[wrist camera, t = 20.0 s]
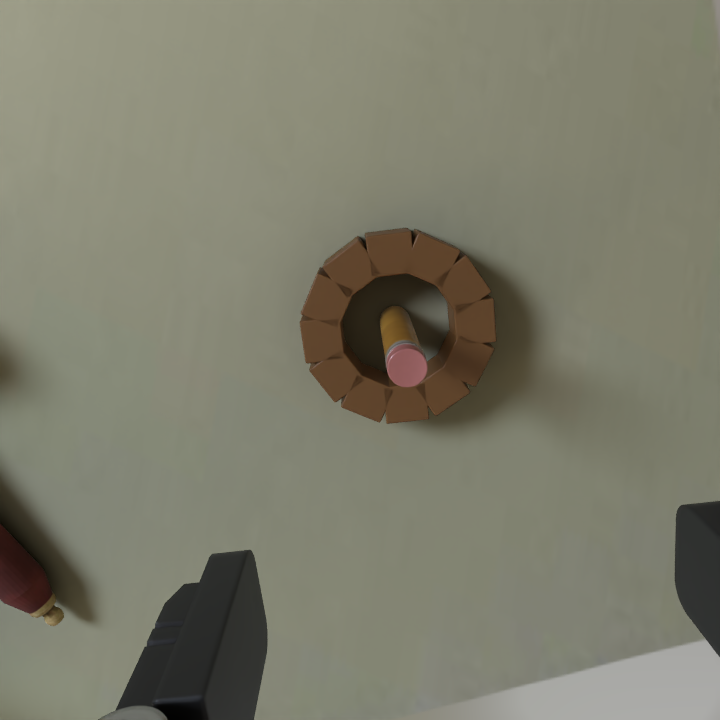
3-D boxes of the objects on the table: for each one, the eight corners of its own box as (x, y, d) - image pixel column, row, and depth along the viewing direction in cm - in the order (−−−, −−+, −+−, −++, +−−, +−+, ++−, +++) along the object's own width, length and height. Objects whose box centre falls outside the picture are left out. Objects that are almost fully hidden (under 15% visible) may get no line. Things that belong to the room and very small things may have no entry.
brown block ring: (479, 219, 32) (489, 221, 29) (491, 396, 34) (500, 411, 32) (293, 241, 32) (288, 245, 30) (318, 415, 34) (315, 432, 32)
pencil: (408, 303, 33) (426, 346, 24) (411, 333, 33) (430, 385, 24) (377, 307, 33) (384, 350, 24) (380, 336, 33) (388, 390, 25)
